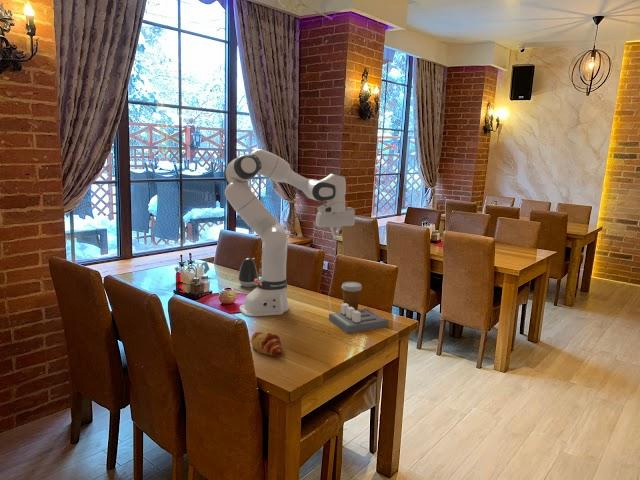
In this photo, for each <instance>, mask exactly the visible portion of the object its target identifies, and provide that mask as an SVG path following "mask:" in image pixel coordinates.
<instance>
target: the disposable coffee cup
mask: <svg viewBox="0 0 640 480" xmlns="http://www.w3.org/2000/svg"><path fill="white" fill-rule="evenodd" d="M341 289H342V298H343V300H342V301H343V302H342V303H347V304H348V305H349V307H353V308H354V309H355V310H358V309H359V303H360V297H361V293H362V292H361V291H362V289H363V286H362V284H361V283H360V282H356V281H346V282H342V285H341Z"/></svg>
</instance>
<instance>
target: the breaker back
mask: <svg viewBox="0 0 640 480" xmlns="http://www.w3.org/2000/svg"><path fill="white" fill-rule="evenodd" d="M347 307H349V305H348V304H347V303H344V302H342V303H340V312H341V313H342V314H344V315H345V314H346V311H347Z"/></svg>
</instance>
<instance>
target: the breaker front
mask: <svg viewBox="0 0 640 480" xmlns="http://www.w3.org/2000/svg"><path fill="white" fill-rule="evenodd" d="M360 319H361V312H359V311H352V321H354V322H355V323H356V322H360Z"/></svg>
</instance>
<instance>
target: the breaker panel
mask: <svg viewBox="0 0 640 480" xmlns="http://www.w3.org/2000/svg"><path fill="white" fill-rule="evenodd" d="M355 311H359V312H361V319H360V322H356V323H355V322H354V321H352V318H350V319H349V318H348V317H347V316H346V314H345V315H344V314H342V313H341V311H339V312H337V311H336V312H331V313H329V314H328V321H329V322H331V323H332V324H333V325H335V326H336V327H337V328H339V329H340V330H341V331H342V332H344V333H345V334H352V333H357V332H358V333H359V332H363V331H370V330H376V329H383V328H388V327H389V318H386V317H385V316H383V315H381V314H380V313H378V312H376V311H374V310H373V309H371V308H369V307H366V308H365V307H364V308H358V310H355Z"/></svg>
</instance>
